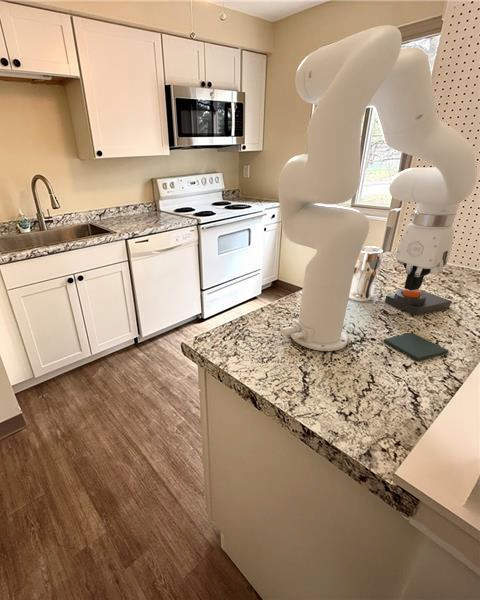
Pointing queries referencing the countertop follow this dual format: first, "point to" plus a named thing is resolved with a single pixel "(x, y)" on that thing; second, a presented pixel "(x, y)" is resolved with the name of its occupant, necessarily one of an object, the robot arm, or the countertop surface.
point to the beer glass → (365, 273)
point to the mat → (415, 346)
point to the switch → (411, 293)
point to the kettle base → (418, 302)
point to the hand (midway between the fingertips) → (411, 288)
